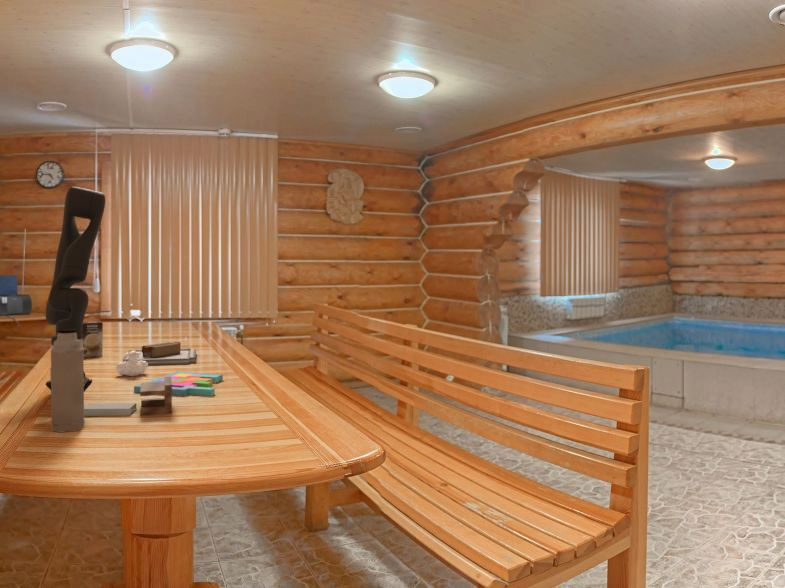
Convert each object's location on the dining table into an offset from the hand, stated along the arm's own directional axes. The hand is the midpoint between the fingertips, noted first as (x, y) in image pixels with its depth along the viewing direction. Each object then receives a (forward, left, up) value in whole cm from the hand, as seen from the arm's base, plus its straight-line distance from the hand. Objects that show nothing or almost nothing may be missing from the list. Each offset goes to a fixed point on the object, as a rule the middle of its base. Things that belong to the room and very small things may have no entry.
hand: (69, 410), depth 183 cm
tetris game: (+36, +31, -2) cm, 48 cm away
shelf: (+23, 0, -1) cm, 23 cm away
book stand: (+26, +94, -2) cm, 98 cm away
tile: (+11, 0, -2) cm, 11 cm away
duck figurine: (+15, +58, -2) cm, 60 cm away
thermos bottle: (+1, -15, -1) cm, 15 cm away
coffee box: (-5, +110, -1) cm, 110 cm away
